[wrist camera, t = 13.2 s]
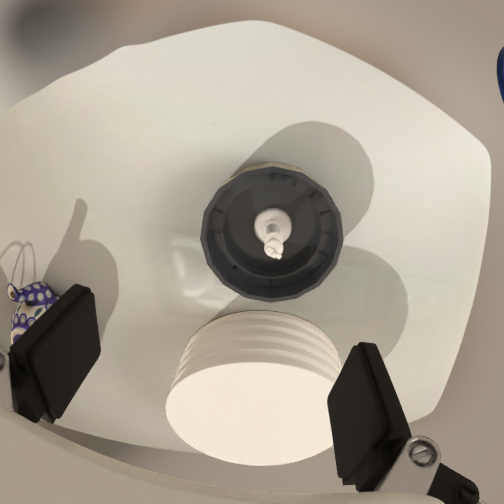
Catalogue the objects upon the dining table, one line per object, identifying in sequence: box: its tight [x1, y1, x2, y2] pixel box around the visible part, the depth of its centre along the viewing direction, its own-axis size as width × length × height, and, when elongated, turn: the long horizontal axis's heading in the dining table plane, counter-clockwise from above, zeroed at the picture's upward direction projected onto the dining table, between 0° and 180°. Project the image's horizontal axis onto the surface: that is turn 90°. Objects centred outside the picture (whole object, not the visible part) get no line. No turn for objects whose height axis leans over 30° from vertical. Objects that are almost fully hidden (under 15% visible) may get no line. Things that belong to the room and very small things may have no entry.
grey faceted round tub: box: [200, 162, 344, 302], centre depth 37 cm, size 16×16×6 cm
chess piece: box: [254, 208, 292, 259], centre depth 34 cm, size 5×5×10 cm
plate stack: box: [166, 311, 342, 466], centre depth 44 cm, size 28×28×12 cm
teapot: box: [7, 282, 60, 344], centre depth 41 cm, size 25×15×15 cm, turn 175°
